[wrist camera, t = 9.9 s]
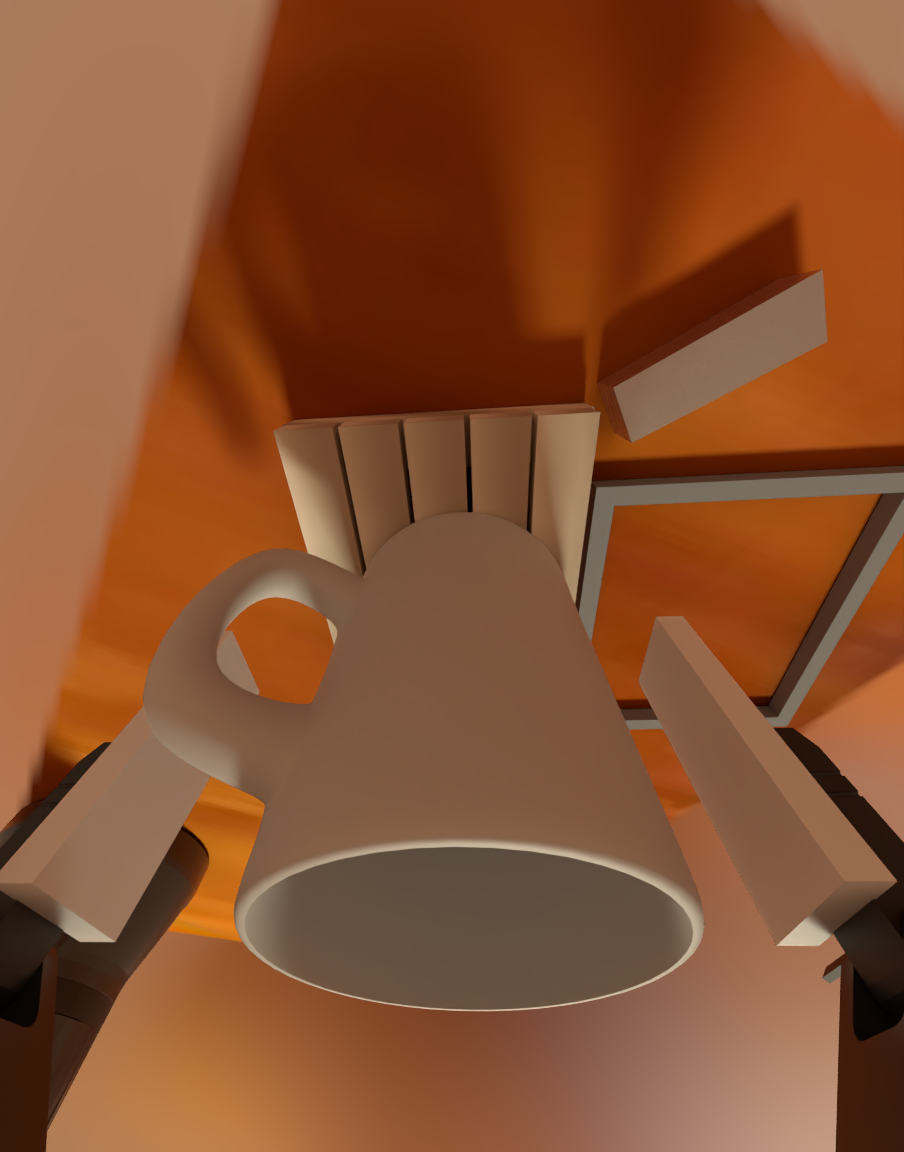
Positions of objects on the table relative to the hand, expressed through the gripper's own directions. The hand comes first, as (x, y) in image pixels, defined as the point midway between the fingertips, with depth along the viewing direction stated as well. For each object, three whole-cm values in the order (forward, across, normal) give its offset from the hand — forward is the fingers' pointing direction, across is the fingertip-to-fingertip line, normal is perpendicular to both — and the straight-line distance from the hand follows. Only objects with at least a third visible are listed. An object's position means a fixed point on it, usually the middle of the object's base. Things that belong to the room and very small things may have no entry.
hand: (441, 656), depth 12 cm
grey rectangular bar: (+7, +9, +8) cm, 13 cm away
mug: (+4, -1, 0) cm, 4 cm away
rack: (+6, 0, 0) cm, 6 cm away
